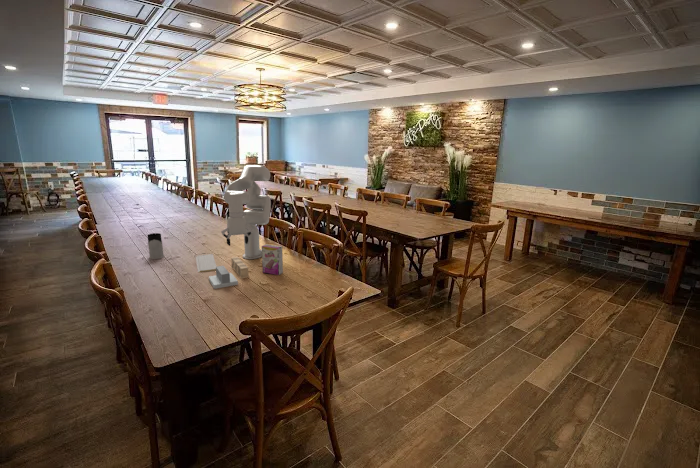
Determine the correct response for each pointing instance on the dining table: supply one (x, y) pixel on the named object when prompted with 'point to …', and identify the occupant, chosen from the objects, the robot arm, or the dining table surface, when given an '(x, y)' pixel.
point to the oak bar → (239, 267)
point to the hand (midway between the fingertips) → (237, 244)
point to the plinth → (219, 285)
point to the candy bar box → (272, 259)
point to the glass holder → (155, 246)
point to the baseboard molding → (205, 263)
